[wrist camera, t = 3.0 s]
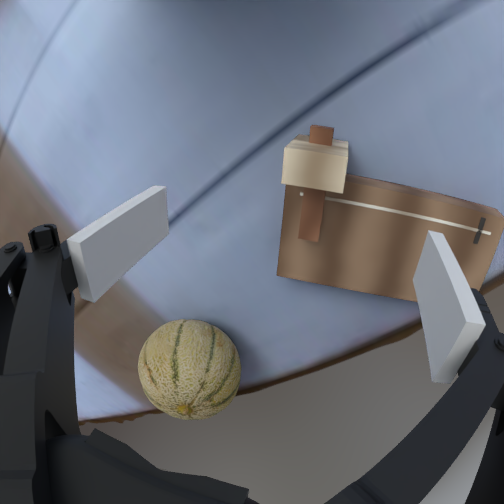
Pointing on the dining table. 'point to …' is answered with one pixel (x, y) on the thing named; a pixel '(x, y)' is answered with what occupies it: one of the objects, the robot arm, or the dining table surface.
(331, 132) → the marking gauge
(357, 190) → the walnut board
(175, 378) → the cantaloupe
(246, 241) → the dining table surface
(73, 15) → the dining table surface
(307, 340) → the dining table surface
